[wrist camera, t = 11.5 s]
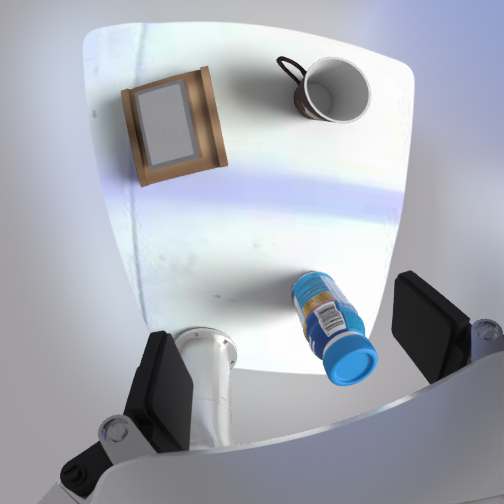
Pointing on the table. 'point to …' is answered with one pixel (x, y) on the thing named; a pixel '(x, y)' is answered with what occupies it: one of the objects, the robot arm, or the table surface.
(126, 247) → the table surface
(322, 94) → the coffee mug
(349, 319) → the beverage bottle
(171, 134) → the block
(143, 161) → the stand
